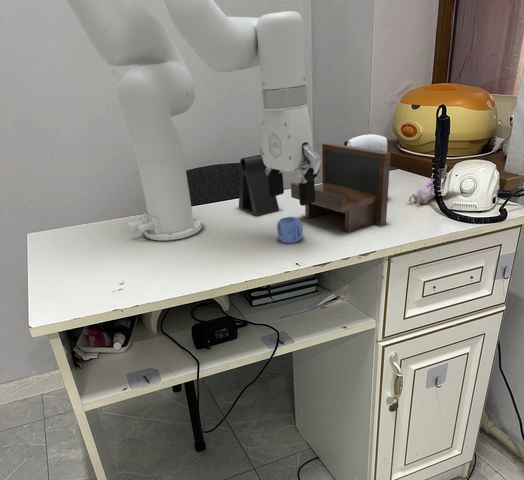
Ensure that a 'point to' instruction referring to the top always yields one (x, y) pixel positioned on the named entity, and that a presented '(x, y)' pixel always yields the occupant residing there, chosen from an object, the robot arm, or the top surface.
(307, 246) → the top surface
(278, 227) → the decorative dice
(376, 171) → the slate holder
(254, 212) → the phone stand
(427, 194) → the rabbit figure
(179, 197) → the robot arm
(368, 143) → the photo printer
